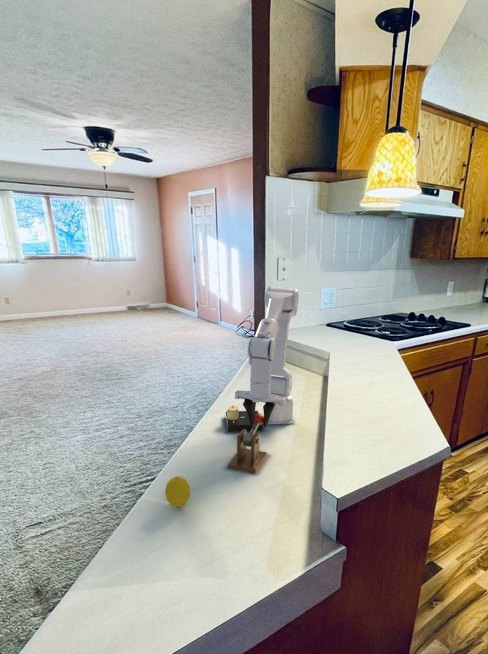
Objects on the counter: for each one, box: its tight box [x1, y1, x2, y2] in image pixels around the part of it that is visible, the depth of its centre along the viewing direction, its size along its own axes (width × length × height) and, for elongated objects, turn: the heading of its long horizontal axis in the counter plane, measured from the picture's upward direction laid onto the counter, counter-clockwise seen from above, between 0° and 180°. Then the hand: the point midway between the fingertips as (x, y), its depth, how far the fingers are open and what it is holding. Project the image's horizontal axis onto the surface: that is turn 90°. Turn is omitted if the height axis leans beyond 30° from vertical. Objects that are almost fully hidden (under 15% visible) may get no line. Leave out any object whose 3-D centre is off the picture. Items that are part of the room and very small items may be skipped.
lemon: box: [164, 475, 191, 508], centre depth 93 cm, size 6×6×8 cm
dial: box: [226, 404, 239, 420], centre depth 134 cm, size 4×4×4 cm
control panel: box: [220, 410, 263, 433], centre depth 135 cm, size 13×11×3 cm
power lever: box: [243, 413, 264, 448], centre depth 115 cm, size 12×3×3 cm, turn 164°
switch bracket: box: [227, 429, 268, 474], centre depth 113 cm, size 10×8×9 cm
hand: (259, 424), depth 119 cm, fingers open, 3 cm apart
